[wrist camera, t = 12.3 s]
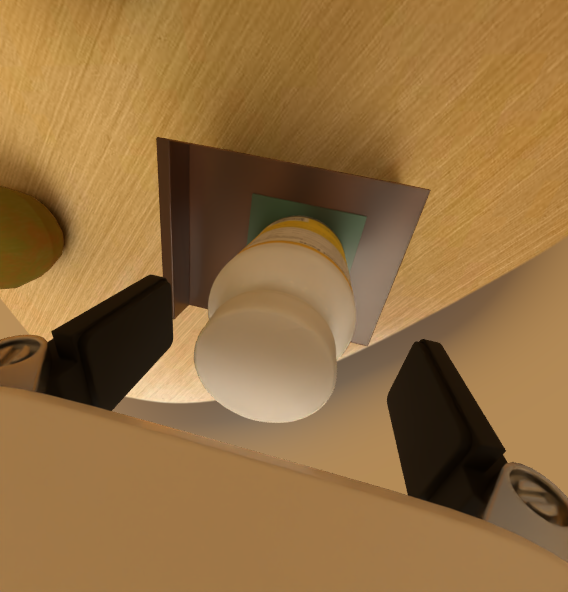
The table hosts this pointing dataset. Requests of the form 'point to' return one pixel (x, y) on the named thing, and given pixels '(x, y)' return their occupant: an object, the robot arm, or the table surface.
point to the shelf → (271, 207)
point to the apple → (26, 239)
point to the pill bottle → (278, 323)
